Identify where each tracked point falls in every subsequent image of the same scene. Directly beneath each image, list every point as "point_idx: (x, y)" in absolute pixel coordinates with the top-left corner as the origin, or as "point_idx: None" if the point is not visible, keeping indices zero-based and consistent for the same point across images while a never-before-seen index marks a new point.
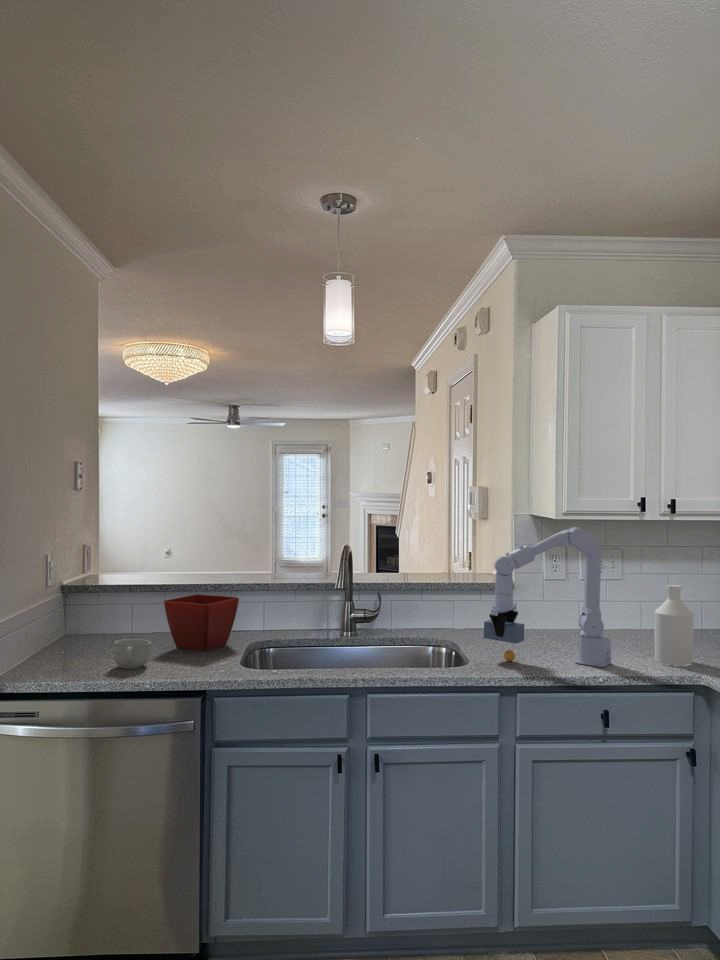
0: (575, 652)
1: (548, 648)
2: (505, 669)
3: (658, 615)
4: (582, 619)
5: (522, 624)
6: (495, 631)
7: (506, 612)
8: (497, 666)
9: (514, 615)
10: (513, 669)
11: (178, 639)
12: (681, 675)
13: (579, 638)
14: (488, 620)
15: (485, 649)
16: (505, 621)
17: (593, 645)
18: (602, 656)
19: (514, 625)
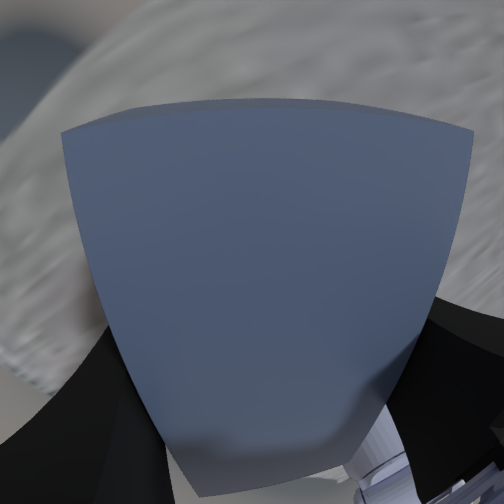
0: None
1: (491, 237)
2: (64, 315)
3: (440, 500)
4: (416, 498)
5: (327, 467)
6: None
7: (480, 445)
8: (73, 262)
9: (414, 475)
10: (94, 335)
11: None
12: (330, 477)
13: (385, 450)
14: (320, 120)
15: (393, 15)
16: (397, 361)
17: (352, 465)
18: None
19: (236, 481)
